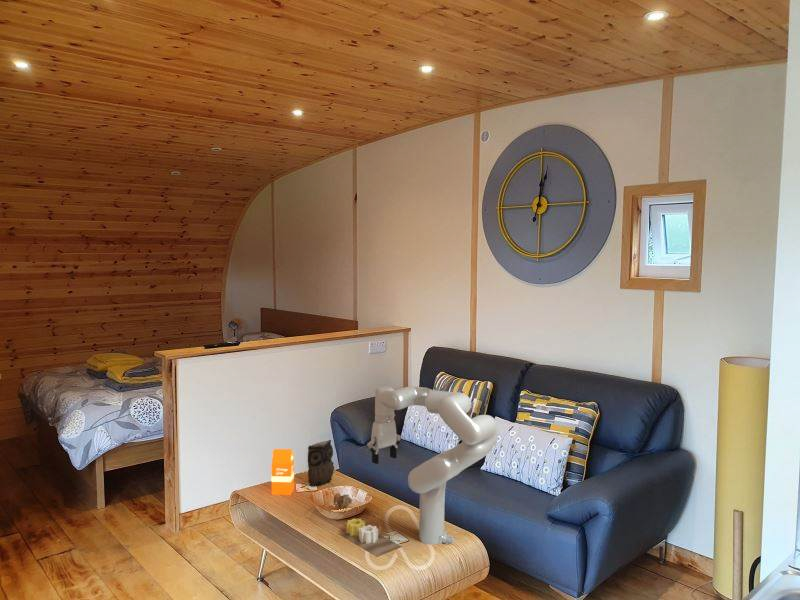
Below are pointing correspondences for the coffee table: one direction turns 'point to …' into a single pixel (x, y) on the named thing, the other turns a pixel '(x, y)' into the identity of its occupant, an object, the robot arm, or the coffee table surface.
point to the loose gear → (368, 534)
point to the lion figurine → (342, 500)
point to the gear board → (373, 544)
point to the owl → (320, 463)
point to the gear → (354, 526)
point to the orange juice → (282, 472)
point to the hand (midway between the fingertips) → (384, 460)
